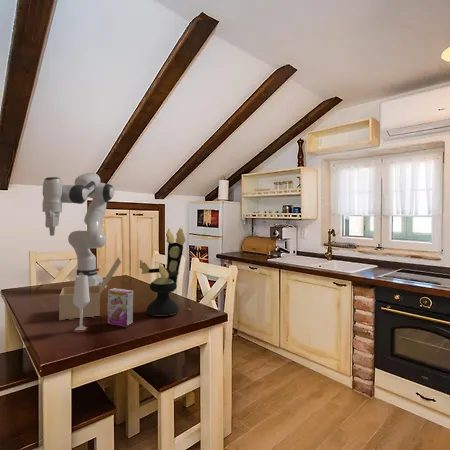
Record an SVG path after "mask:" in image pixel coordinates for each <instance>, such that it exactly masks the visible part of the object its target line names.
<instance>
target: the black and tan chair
mask: <svg viewBox="0 0 450 450" xmlns="http://www.w3.org/2000/svg"><path fill="white" fill-rule="evenodd" d="M167 229H168V230H166V231H167V232H166V241H165V242H167V244H168V245H167V256H166V257H167V259H166V267H164V266H162V265H161V264H158V268H150V267H149V266H148V264H147V263H146V262H145V261H143V260H141V259H139V269H141V274H144V275H145V274H155V273H156V274H157V273H158V274H160V277H158V278H156V279H154V280H153V281H151V283H150V284H149V289H150V290H151V291H152V292H153V293H156V295H157V296H156V297H155V299H154V300H152V301H151V302H150V303H149V305H147V307H146V313H147V314H148V315H149V314H150V315H149V316H151V315H170V314H174V313H177V312H178V313H179V312H180V308H179V306H178V304H177V303H176V302H175V301H174V300H173V299H172V298H171V297H170V294H169V293H172V292H174V291H176V289H177V287H178V284H177V283H178V282H177V281H178V277H179V276H178V275H179V269H180V266H181V260H182V256H183V251H184V243H185V242H186V237H185V234H184V233H185V232H184V230H183V228H182V227H181V226H179V229H178V230H177V232H176V238H175V237H174V235H173V233H172V232H171V230H170V229H171V228H167ZM178 313H177V314H178Z"/></svg>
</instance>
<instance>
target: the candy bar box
mask: <svg viewBox="0 0 450 450" xmlns="http://www.w3.org/2000/svg"><path fill="white" fill-rule="evenodd" d="M106 295H107V298H106V299H107V300H106V302H107V305H106V306H107V307H106V308H107V310H106V312H107V313H106V324H107V323H109V324H116V325H124V326H127V325H129V324H131V323H133V324H134V290H132V289H131V290H130V289H129V290H128V289H123V288H116V287H113V288H109V289H108V290H107V294H106Z"/></svg>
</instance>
